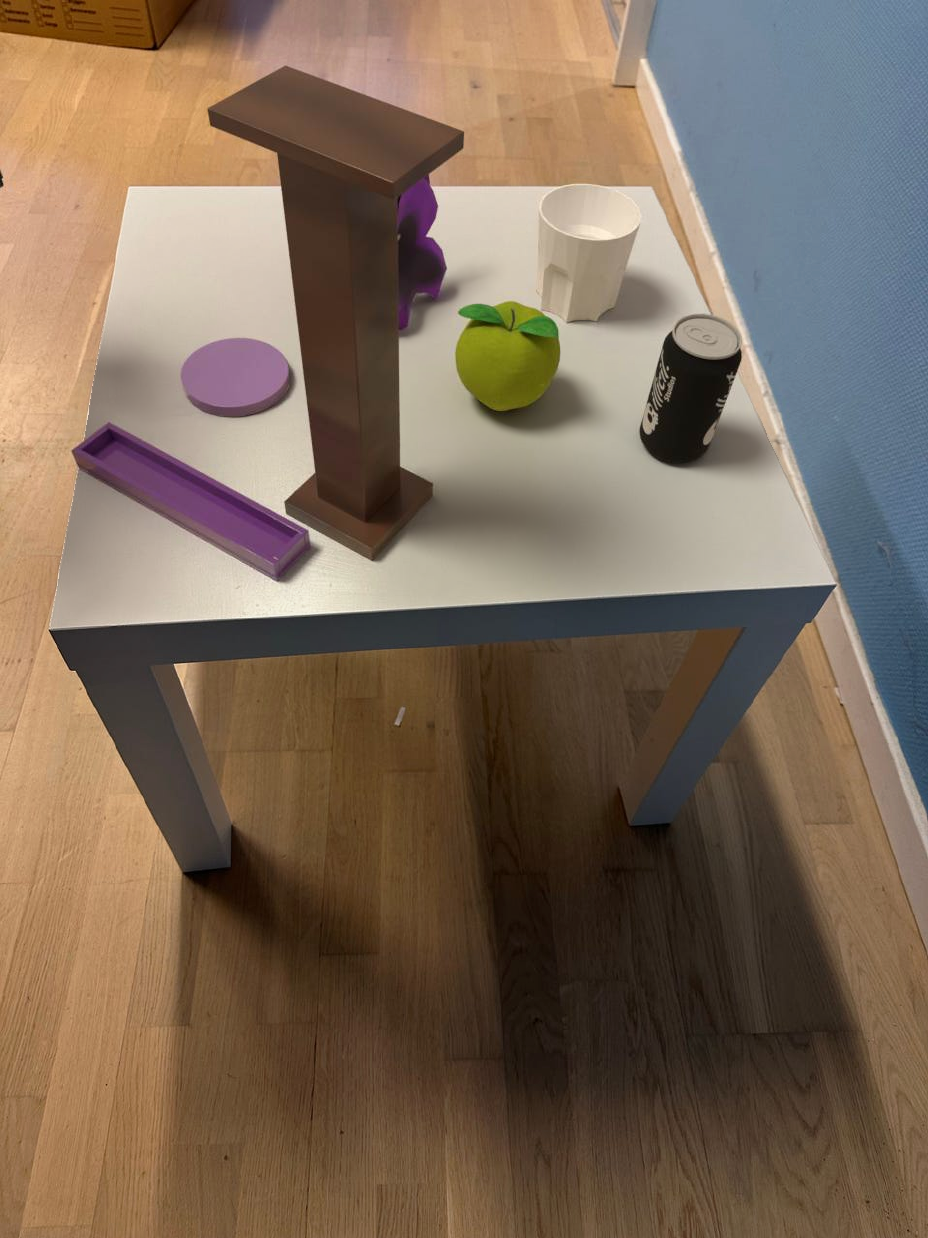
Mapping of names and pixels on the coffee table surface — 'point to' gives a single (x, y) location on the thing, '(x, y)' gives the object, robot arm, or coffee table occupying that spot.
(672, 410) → the beverage can
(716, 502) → the coffee table surface
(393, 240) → the brown wooden pedestal
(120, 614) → the coffee table surface
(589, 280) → the cup
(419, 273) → the flower
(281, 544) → the purple dish
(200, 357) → the lilac plate
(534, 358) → the fruit
